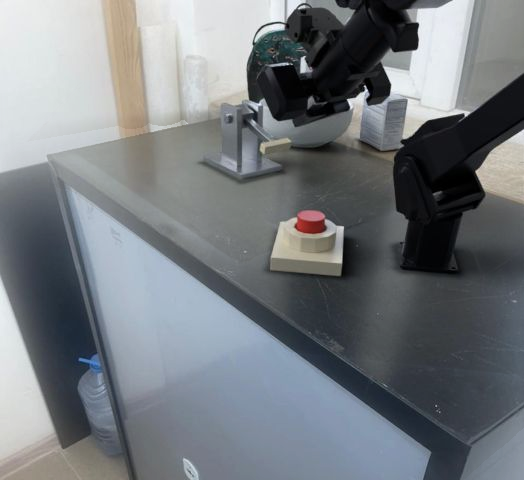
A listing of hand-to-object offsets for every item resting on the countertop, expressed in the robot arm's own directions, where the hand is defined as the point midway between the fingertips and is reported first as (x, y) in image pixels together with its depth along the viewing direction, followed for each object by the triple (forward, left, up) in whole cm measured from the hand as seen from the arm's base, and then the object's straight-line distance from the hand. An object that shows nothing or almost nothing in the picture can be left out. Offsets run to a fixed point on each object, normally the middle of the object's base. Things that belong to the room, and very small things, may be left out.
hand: (295, 123), depth 76 cm
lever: (+7, +7, -4) cm, 10 cm away
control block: (-20, -4, -10) cm, 22 cm away
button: (-20, -4, -7) cm, 21 cm away
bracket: (+9, +9, -10) cm, 16 cm away
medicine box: (+27, -14, -10) cm, 32 cm away
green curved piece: (+51, +5, -10) cm, 53 cm away
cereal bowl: (+25, 0, -10) cm, 27 cm away
